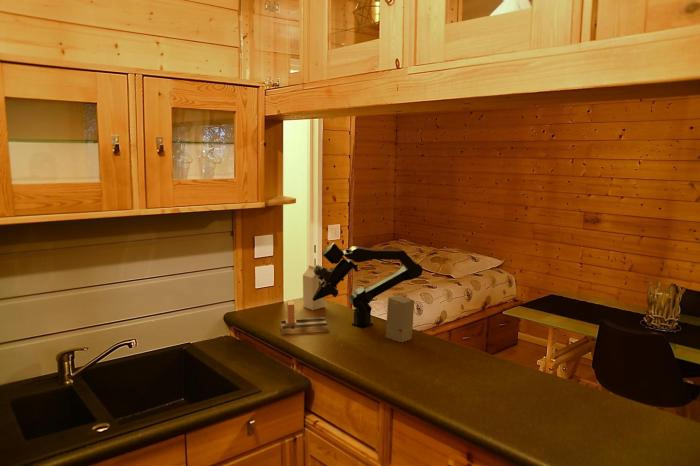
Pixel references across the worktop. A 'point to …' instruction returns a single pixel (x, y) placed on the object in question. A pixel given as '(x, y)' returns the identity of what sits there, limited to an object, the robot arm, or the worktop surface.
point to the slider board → (305, 326)
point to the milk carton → (311, 290)
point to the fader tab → (290, 313)
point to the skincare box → (399, 318)
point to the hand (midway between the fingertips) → (313, 300)
